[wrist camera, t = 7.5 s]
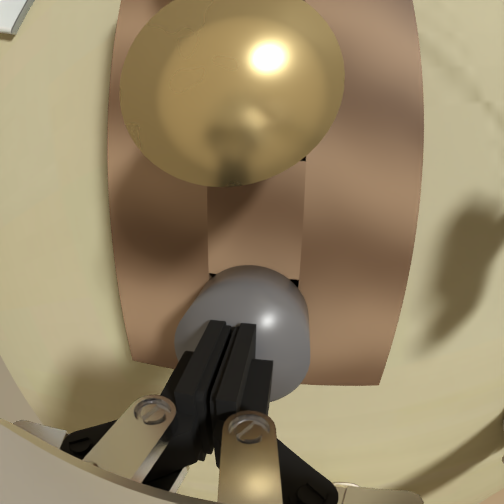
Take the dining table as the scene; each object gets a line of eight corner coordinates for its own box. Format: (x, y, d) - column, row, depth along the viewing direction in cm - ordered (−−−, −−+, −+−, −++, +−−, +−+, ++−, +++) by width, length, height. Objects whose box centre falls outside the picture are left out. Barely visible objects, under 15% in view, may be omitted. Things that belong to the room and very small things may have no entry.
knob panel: (361, 329, 20) (378, 385, 14) (169, 313, 22) (132, 360, 16) (372, -31, 12) (390, -78, 6) (174, -28, 14) (139, -68, 8)
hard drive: (49, -35, 12) (2, -26, 12) (9, 33, 15) (-28, 29, 15) (58, -30, 14) (10, -24, 13) (19, 36, 17) (-19, 31, 16)
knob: (302, 318, 19) (301, 409, 11) (221, 311, 19) (181, 394, 12) (309, 239, 17) (318, 301, 10) (220, 233, 18) (167, 288, 10)
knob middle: (316, 174, 14) (342, 193, 6) (207, 171, 14) (118, 187, 7) (318, 69, 12) (338, -18, 4) (210, 69, 13) (130, 1, 5)
